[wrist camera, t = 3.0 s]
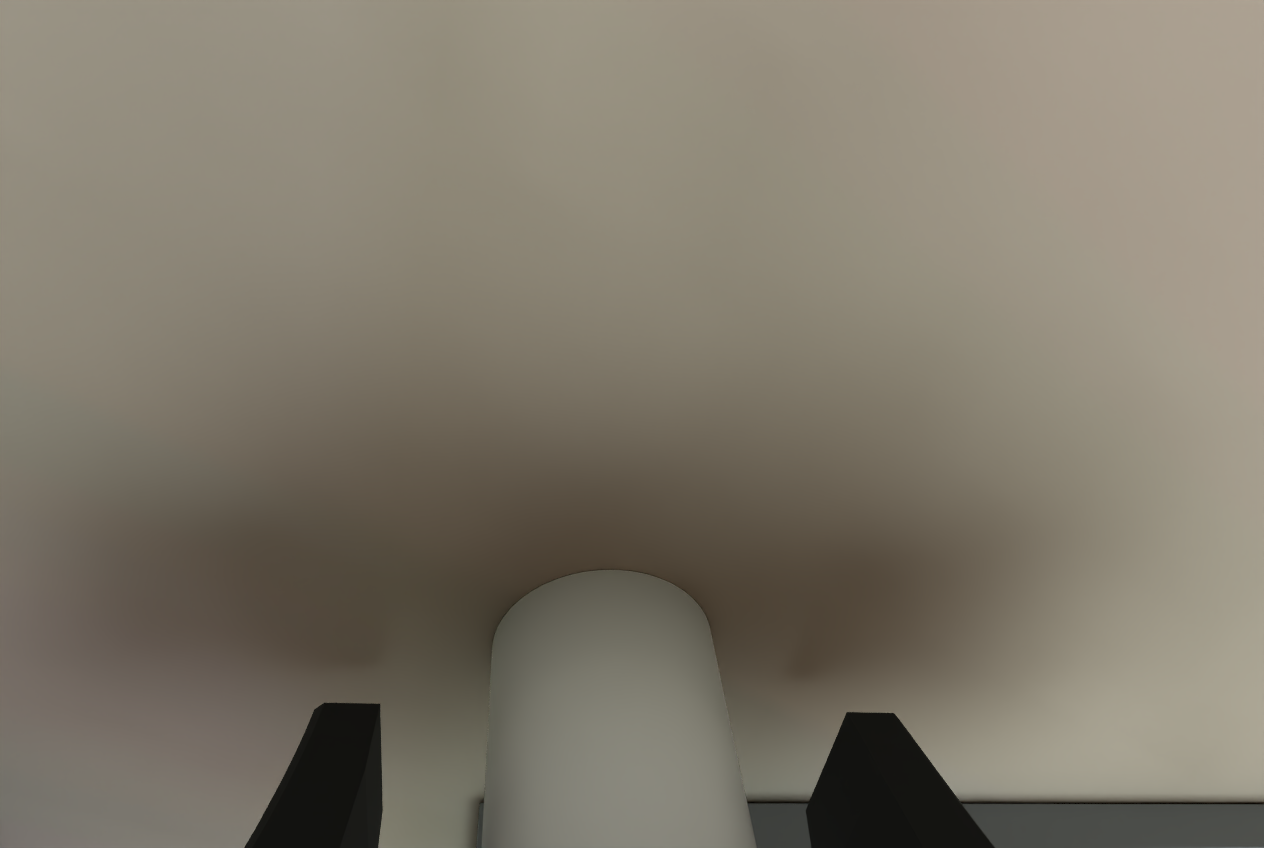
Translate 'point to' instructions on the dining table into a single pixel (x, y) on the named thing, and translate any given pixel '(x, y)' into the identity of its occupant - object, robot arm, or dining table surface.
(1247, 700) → the dining table surface
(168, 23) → the dining table surface
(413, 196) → the dining table surface
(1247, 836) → the picture board
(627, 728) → the pale green cylinder
